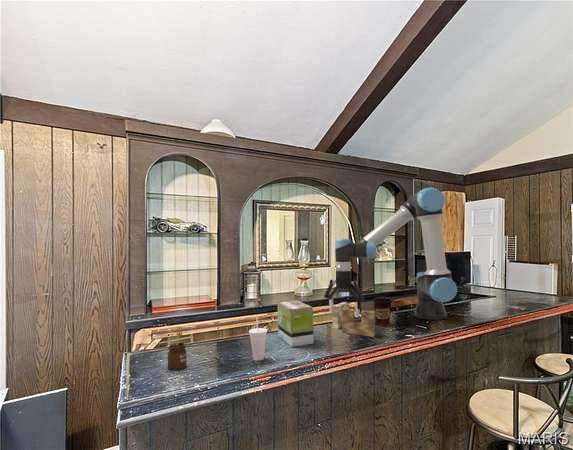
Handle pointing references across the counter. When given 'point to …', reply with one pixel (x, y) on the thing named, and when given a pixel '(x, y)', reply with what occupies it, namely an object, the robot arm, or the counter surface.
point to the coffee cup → (382, 310)
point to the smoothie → (258, 342)
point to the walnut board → (359, 328)
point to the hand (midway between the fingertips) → (344, 314)
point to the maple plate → (338, 314)
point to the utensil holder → (177, 354)
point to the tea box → (295, 323)
